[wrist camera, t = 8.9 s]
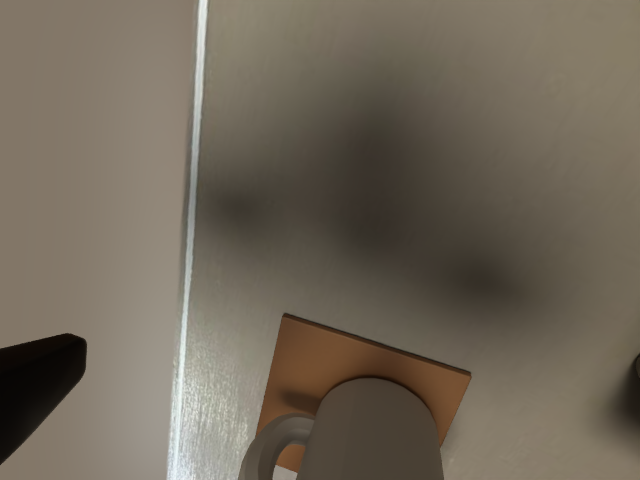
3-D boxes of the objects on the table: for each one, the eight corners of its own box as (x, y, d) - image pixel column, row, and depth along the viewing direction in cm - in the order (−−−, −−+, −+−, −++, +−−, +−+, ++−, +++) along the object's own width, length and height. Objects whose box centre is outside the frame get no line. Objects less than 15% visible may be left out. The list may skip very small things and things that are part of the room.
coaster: (253, 450, 25) (250, 455, 25) (284, 313, 22) (282, 316, 21) (410, 509, 24) (410, 515, 23) (470, 372, 20) (471, 377, 20)
